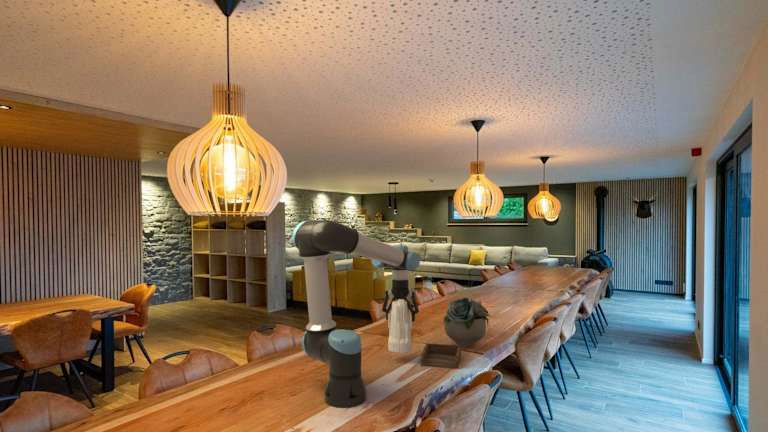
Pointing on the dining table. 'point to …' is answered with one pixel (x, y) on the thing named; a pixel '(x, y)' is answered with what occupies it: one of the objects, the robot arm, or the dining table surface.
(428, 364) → the brown wooden tray
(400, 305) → the decorative vase
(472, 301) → the flower arrangement
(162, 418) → the dining table surface
